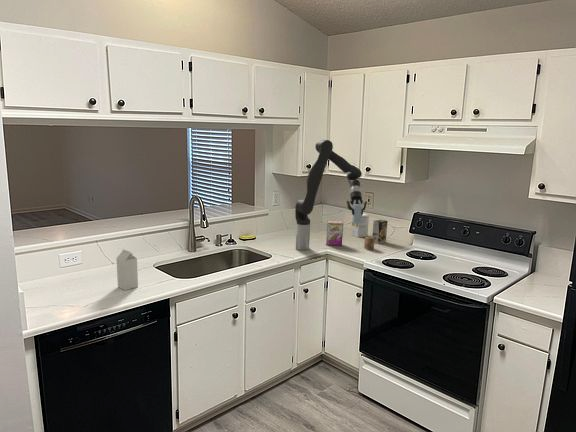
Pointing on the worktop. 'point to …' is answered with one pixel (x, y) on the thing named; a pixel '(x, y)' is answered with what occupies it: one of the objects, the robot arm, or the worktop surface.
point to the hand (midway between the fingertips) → (357, 214)
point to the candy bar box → (334, 233)
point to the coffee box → (379, 231)
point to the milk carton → (127, 270)
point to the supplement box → (360, 226)
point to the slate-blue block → (357, 213)
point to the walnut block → (369, 243)
